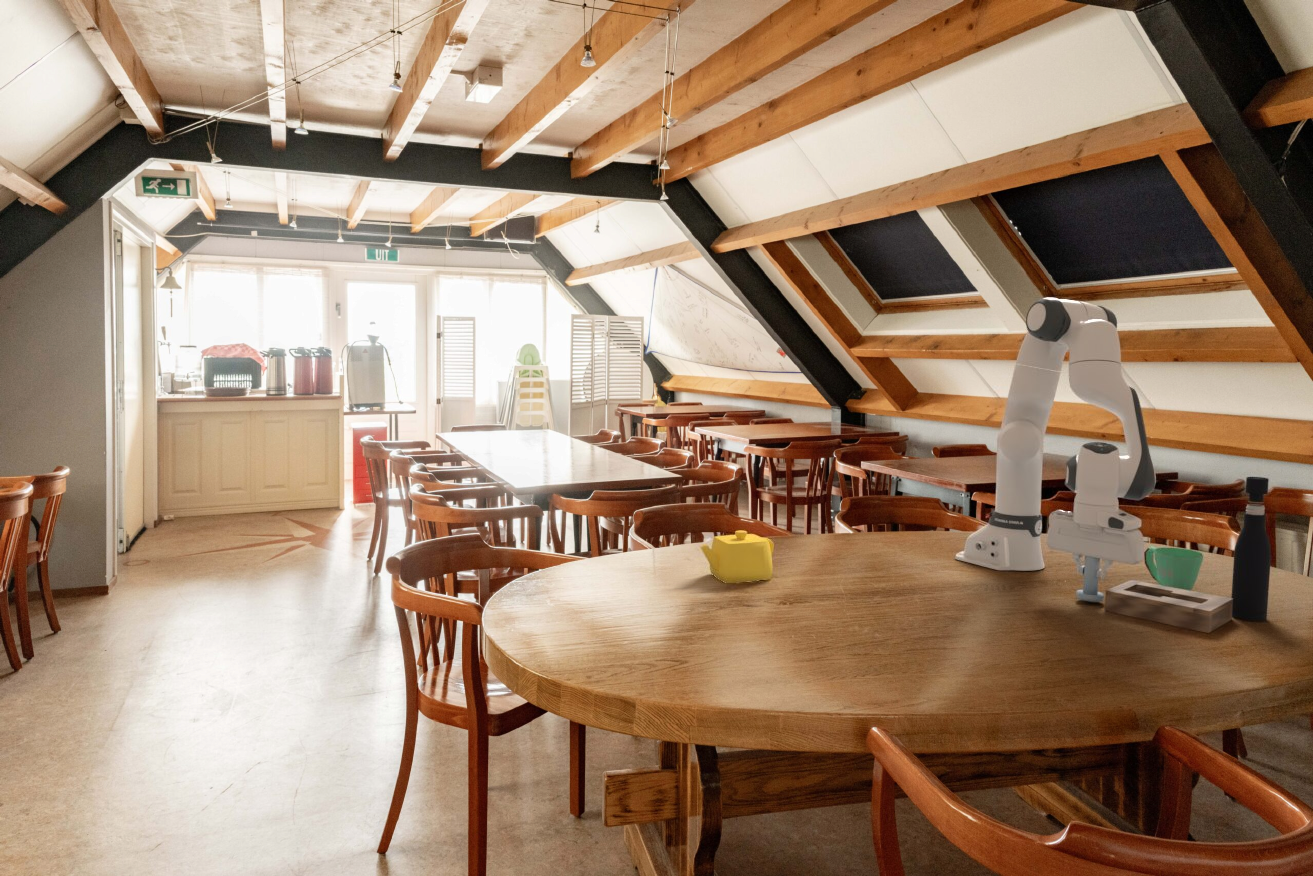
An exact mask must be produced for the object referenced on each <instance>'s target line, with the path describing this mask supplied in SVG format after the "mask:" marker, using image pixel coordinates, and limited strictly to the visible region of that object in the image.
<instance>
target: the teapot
mask: <svg viewBox="0 0 1313 876" xmlns="http://www.w3.org/2000/svg"><path fill="white" fill-rule="evenodd" d="M712 540H713V541H712V544H711V547H709V545H708V544H703V545H701V546H699V547H700V550H701V552H702V553H703V554H704V557H705V558H706V560H707V561H708V564H709V570H710V574H711V573H712V574H713V575H715V576H716V577H717V578H719V579H720V580H722V581H724V582H726V583H736V584H738V583H737V582H747V581H757V580H764V579H770V578H772V576H773V557H772V556H773V552H774V549H775V544H774V542H773V541H772V540H771V539H769V538H767V537H761V536H759V535H757V534H754V533H748V531H746V530H736V531H734V534H726V535H716V536H713V539H712ZM717 578H716V579H717ZM720 580H719V581H720ZM770 580H771V579H770ZM722 581H721V582H722ZM724 582H723V583H724ZM726 583H725V584H726Z"/></svg>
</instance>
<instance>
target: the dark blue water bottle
mask: <svg viewBox="0 0 1313 876" xmlns="http://www.w3.org/2000/svg"><path fill="white" fill-rule="evenodd" d="M1245 479H1246V480H1245V493H1246V494H1248V501H1247V503H1249V504H1246V506H1245V508H1246V509H1245V511H1246V512H1245V513H1243V514H1244V517H1243V526H1242V527H1241V530H1240V532H1239V533H1238V536H1237V540H1236V543H1235V546H1234V550H1233V551H1234V552H1233V567H1232V568H1233V569H1232V583H1231V595H1230V596H1231V597H1230V598H1232V599H1233V608H1232V618H1235V619H1237V620H1241V621H1246V622H1257V623H1258V622H1259V623H1261V622H1266V621H1267V618H1268V605H1269V604H1268V603H1269V602H1268V601H1269V590H1270V575H1271V574H1270V573H1271V562H1272V561H1271V559H1272V550H1271V543H1270V539H1269V535H1268V533H1267V530H1266V529H1267V528H1266V521H1267V520H1266V519H1267V514H1265V510H1266V508H1265V505H1263V504H1264V495H1268V494H1269V482H1270V480H1269V478H1268V477H1262V476H1247V477H1246V478H1245Z"/></svg>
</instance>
